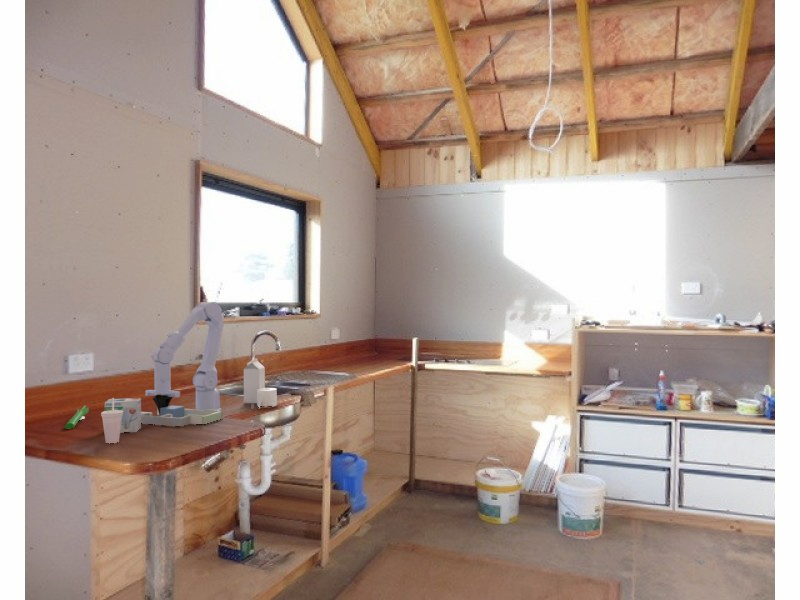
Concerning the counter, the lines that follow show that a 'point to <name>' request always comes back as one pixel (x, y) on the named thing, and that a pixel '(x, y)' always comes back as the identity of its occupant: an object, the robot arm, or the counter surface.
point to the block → (173, 411)
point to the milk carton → (253, 380)
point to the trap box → (189, 417)
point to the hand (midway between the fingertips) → (162, 415)
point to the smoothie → (112, 424)
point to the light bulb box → (127, 413)
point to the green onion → (77, 417)
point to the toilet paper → (267, 397)
